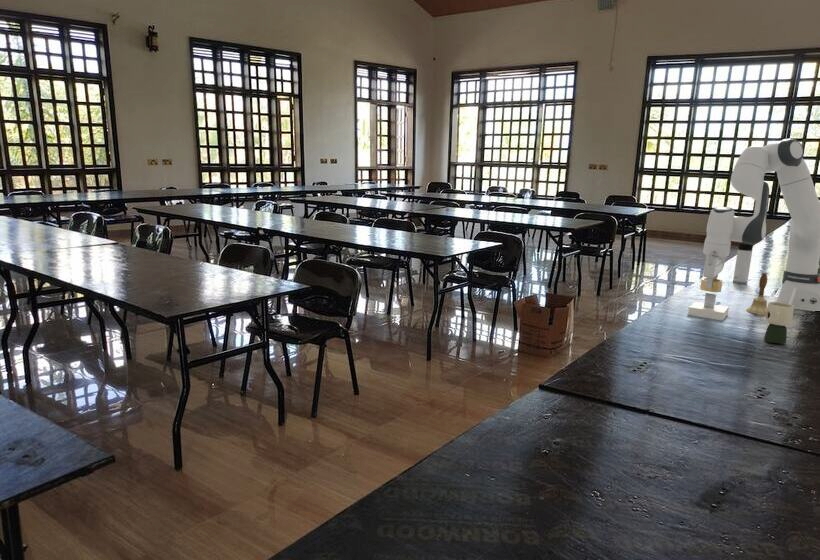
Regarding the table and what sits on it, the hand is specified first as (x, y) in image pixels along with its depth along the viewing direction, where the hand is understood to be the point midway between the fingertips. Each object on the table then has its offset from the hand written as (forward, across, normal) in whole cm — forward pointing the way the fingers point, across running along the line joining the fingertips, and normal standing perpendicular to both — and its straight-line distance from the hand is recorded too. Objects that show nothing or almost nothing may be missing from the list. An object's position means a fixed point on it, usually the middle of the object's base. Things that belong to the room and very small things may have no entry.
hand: (710, 286), depth 221 cm
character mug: (+11, -25, -25) cm, 37 cm away
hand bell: (+11, +19, -15) cm, 27 cm away
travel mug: (+11, +82, -1) cm, 83 cm away
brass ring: (+2, 0, 0) cm, 2 cm away
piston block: (+11, 0, 0) cm, 11 cm away
